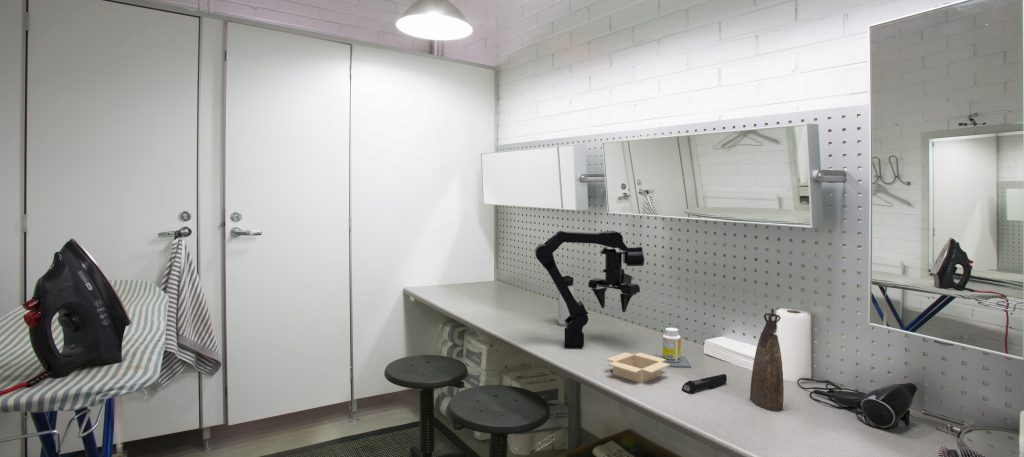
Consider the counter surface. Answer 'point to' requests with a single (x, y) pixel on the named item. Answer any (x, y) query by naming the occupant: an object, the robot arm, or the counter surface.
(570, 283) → the travel mug
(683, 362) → the rubber mat
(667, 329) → the supplement bottle
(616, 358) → the carton
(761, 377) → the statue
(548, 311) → the counter surface
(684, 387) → the electric trimmer
